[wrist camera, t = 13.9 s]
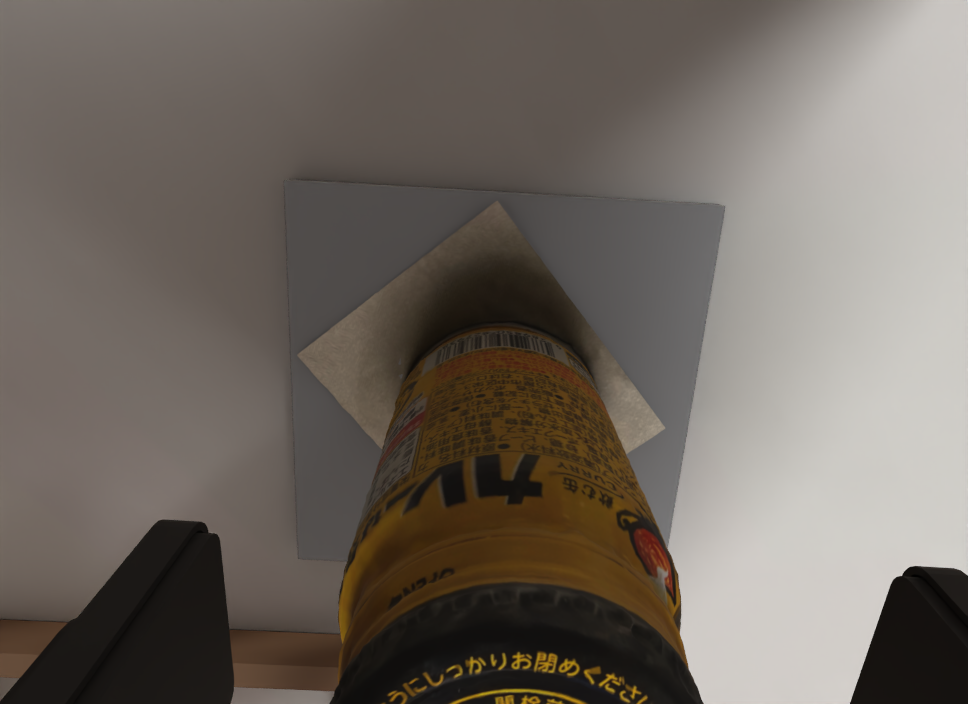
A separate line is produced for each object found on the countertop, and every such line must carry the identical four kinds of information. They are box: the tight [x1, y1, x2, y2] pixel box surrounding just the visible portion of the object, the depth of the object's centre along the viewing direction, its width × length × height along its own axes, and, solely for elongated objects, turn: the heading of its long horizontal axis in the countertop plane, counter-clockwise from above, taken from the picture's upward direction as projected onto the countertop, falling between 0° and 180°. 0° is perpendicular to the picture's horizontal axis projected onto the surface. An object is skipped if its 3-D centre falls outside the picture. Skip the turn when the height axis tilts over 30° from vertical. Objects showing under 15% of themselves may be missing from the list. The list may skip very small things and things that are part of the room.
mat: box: [284, 179, 725, 561], centre depth 20 cm, size 12×12×1 cm
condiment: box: [297, 201, 703, 704], centre depth 14 cm, size 7×8×12 cm
